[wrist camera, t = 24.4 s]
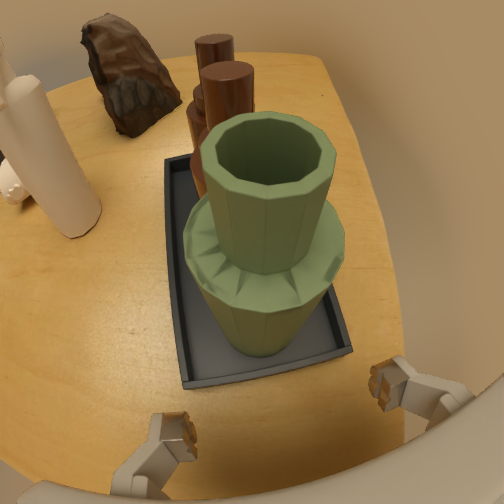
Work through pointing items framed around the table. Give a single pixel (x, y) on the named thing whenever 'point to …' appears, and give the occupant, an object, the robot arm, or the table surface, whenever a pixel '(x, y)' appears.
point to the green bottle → (264, 228)
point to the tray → (206, 326)
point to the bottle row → (216, 95)
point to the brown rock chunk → (128, 75)
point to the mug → (11, 185)
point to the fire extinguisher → (43, 154)
